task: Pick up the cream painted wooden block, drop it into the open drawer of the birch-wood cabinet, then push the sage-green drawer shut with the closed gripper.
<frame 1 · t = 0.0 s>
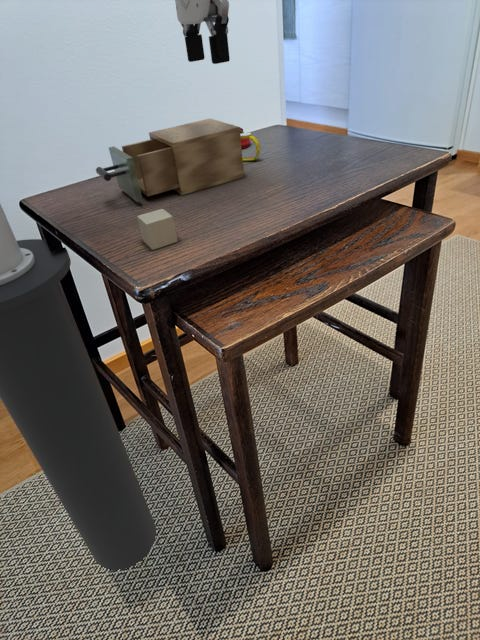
hand: (208, 61, 80), 22 cm above the table, tool pointing down, fingers open, 9 cm apart
drawer: (144, 168, 90), point 5 cm above the table, slide at 8.0 cm
block: (160, 241, 73), on the table
cabinet: (200, 178, 98), on the table
tracker holder: (235, 145, 118), on the table
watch: (248, 161, 105), on the table
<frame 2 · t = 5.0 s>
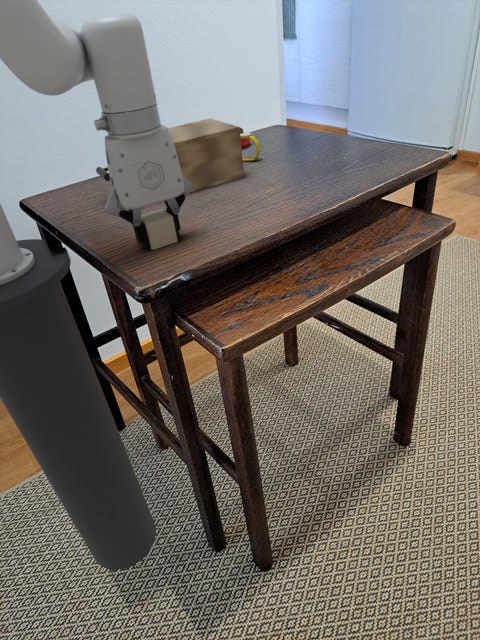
hand: (159, 239, 73), 0 cm above the table, tool pointing down, fingers closed on block, 4 cm apart
block: (160, 241, 73), on the table, touching gripper
everything else where it was.
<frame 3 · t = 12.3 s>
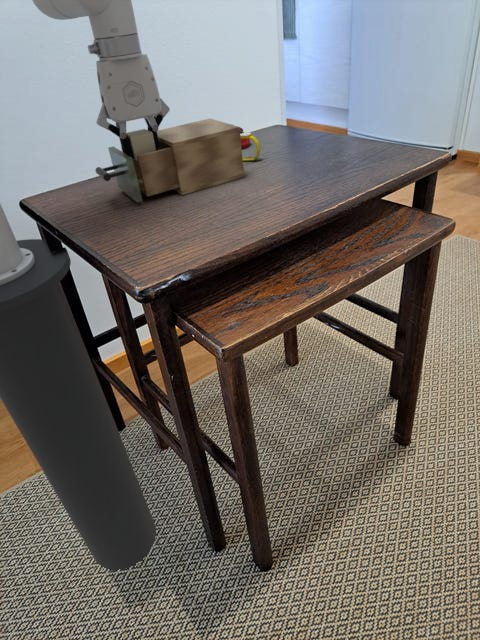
hand: (142, 154, 89), 8 cm above the table, tool pointing down, fingers closed on block, 4 cm apart
drawer: (143, 168, 90), point 5 cm above the table, slide at 8.1 cm, touching gripper
block: (143, 155, 89), point 8 cm above the table, touching gripper
everything else where it was.
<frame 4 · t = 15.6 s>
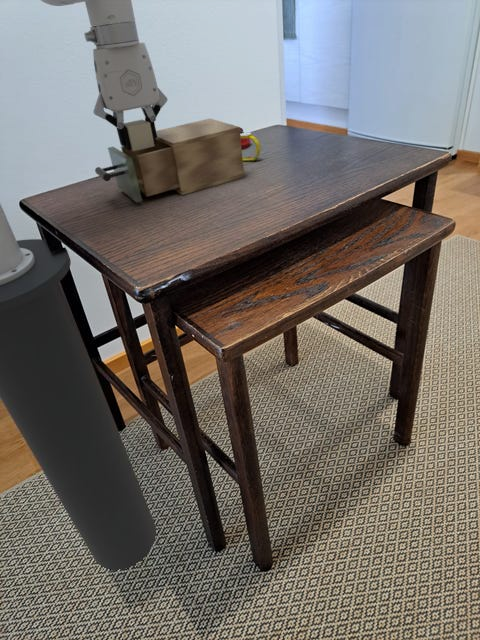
hand: (139, 144, 88), 10 cm above the table, tool pointing down, fingers closed on block, 4 cm apart
drawer: (143, 168, 90), point 5 cm above the table, slide at 8.2 cm
block: (140, 146, 88), point 9 cm above the table, touching gripper
everything else where it was.
when the fingers open (11 cm above the table, at t = 26.6 s): block drops 9 cm, resting on drawer.
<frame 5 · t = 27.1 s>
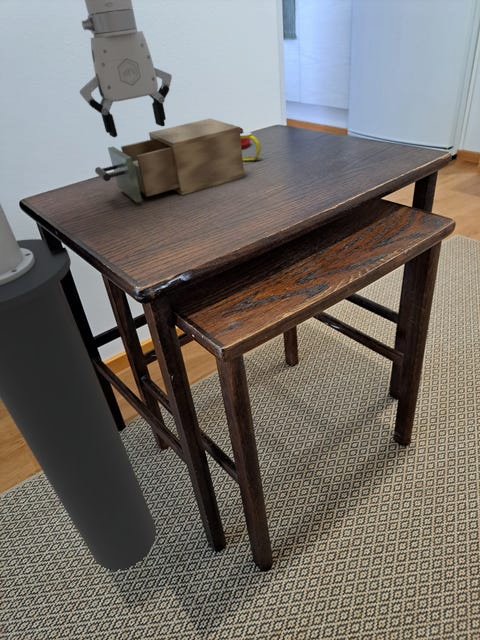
hand: (137, 130, 86), 12 cm above the table, tool pointing down, fingers open, 9 cm apart
drawer: (143, 168, 90), point 5 cm above the table, slide at 8.2 cm, touching block
block: (149, 183, 92), point 2 cm above the table, touching drawer
everything else where it was.
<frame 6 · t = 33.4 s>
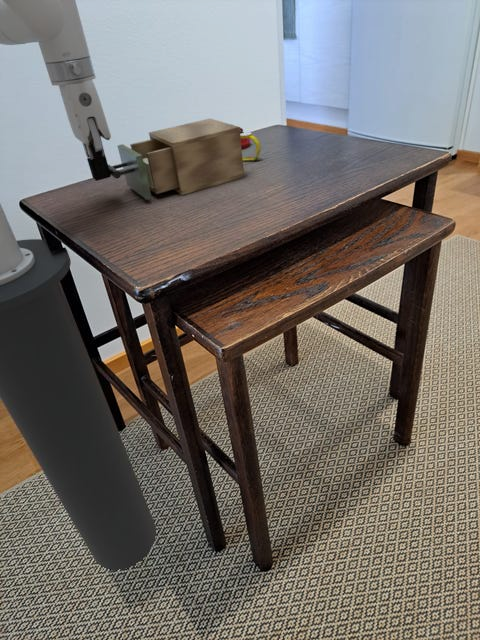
hand: (102, 177, 87), 5 cm above the table, tool pointing down, fingers closed
drawer: (152, 166, 91), point 5 cm above the table, slide at 6.1 cm, touching block
block: (158, 180, 93), point 2 cm above the table, touching drawer
everything else where it was.
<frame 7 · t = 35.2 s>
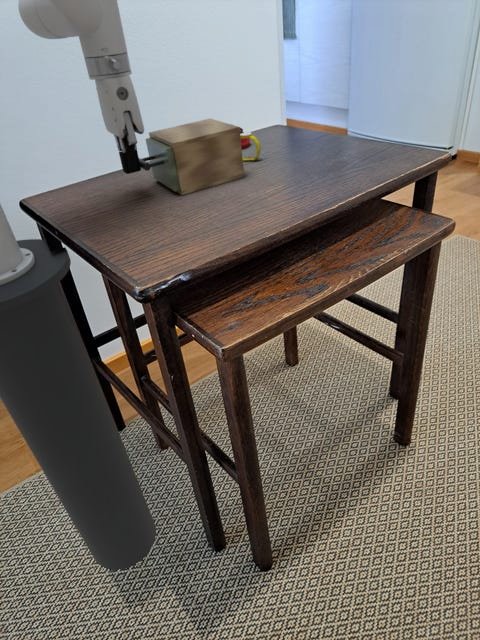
hand: (132, 171, 90), 5 cm above the table, tool pointing down, fingers closed
drawer: (180, 159, 93), point 5 cm above the table, slide at 0.0 cm, touching block, cabinet, gripper
block: (185, 173, 95), point 2 cm above the table, touching drawer
everything else where it was.
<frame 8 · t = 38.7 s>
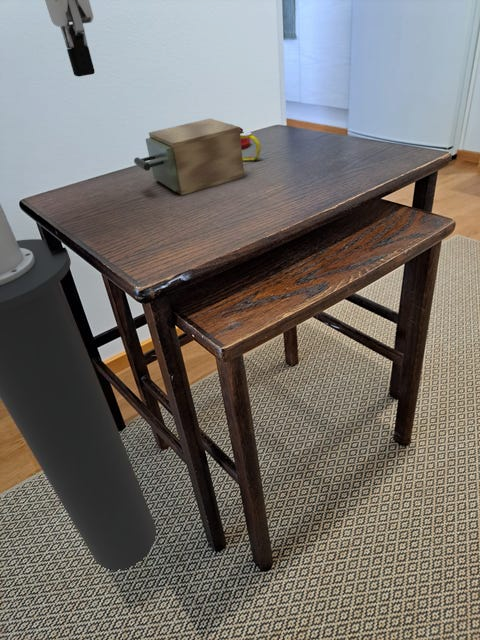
hand: (84, 74, 76), 23 cm above the table, tool pointing down, fingers closed
drawer: (180, 159, 93), point 5 cm above the table, slide at 0.0 cm, touching block, cabinet
everything else where it was.
at the end: block inside the target area in the cabinet (3.4 cm from its centre), point 2.0 cm above the cabinet's base; drawer slide at 0.0 cm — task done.
